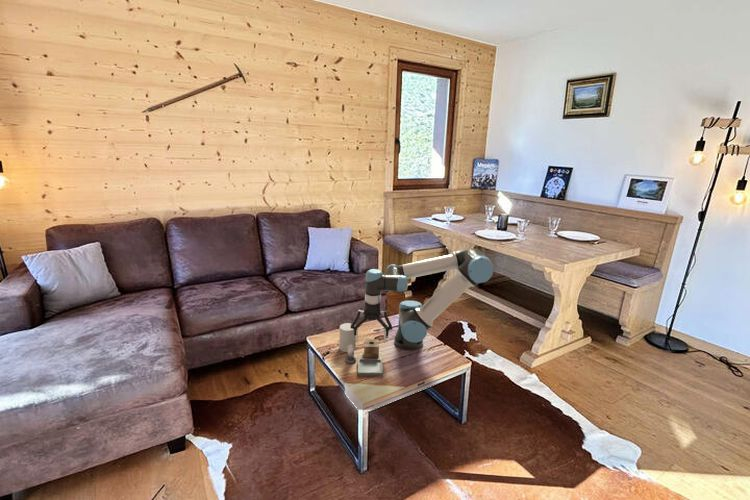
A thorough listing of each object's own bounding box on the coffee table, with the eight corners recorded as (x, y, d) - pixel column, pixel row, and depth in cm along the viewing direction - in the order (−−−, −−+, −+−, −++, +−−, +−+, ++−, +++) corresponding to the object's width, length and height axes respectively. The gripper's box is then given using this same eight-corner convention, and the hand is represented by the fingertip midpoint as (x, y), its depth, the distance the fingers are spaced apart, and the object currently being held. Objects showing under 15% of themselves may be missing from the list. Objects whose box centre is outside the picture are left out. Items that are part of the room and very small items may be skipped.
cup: (353, 353, 189) (353, 331, 185) (337, 351, 190) (337, 329, 187) (357, 344, 196) (357, 324, 193) (342, 342, 198) (342, 322, 194)
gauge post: (356, 358, 184) (356, 342, 182) (355, 364, 179) (356, 348, 177) (345, 358, 184) (345, 342, 182) (345, 363, 179) (345, 348, 177)
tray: (381, 362, 182) (381, 358, 181) (382, 376, 171) (383, 372, 170) (358, 361, 181) (358, 358, 181) (357, 375, 170) (357, 372, 170)
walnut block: (378, 351, 190) (378, 339, 188) (378, 359, 184) (379, 346, 182) (364, 351, 190) (364, 339, 188) (364, 359, 183) (364, 346, 181)
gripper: (398, 299, 183) (395, 338, 189) (346, 297, 182) (345, 336, 188) (399, 305, 176) (396, 346, 182) (346, 303, 175) (344, 344, 181)
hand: (370, 341), depth 185 cm, fingers open, 13 cm apart
